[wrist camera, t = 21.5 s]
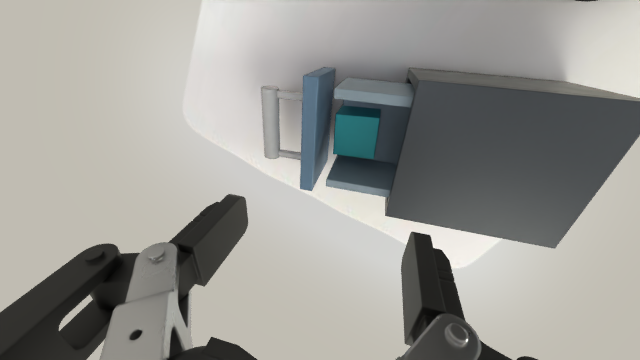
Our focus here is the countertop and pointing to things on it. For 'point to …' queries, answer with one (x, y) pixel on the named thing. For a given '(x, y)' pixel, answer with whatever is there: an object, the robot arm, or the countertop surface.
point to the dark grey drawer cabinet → (507, 153)
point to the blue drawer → (316, 129)
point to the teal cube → (356, 131)
